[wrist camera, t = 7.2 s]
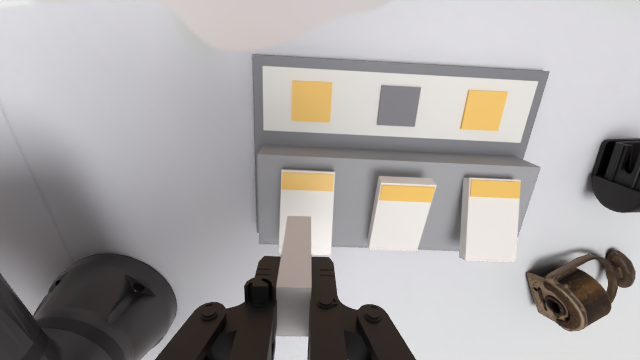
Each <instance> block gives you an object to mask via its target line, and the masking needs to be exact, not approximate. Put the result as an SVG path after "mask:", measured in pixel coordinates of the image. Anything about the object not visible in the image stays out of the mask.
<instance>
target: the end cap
mask: <svg viewBox="0 0 640 360" xmlns="http://www.w3.org/2000/svg"><path fill="white" fill-rule="evenodd" d="M592 186H593V191H594V194H595V196H596V198H597V199H598V201H599V202H600V203H601V204H602V205H603V206H605V207H606V208H608V209H610V210H612V211H615V212H621V213H626V212H640V139H607V140H604V141H603V142H602V144H601V146H600V149H599V152H598V155H597V158H596V162H595V165H594V168H593V171H592Z"/></svg>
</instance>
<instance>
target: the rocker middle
mask: <svg viewBox="0 0 640 360" xmlns="http://www.w3.org/2000/svg"><path fill="white" fill-rule="evenodd" d="M436 186H437V185H436V183H435V182H434V180H433V179H432V178H414V177H392V176H379V177H378V183H377V188H376V194H375V200H374V205H373V211H372V217H371V222H370V228H369V233H368V239H367V244H368V248H369V250H395V251H417V249H418V246H419V243H420V239H421V236H422V233H423V229H424V226H425V223H426V219H427V216H428V212H429V209H430V206H431V202H432V199H433V196H434V192H435V189H436Z"/></svg>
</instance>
